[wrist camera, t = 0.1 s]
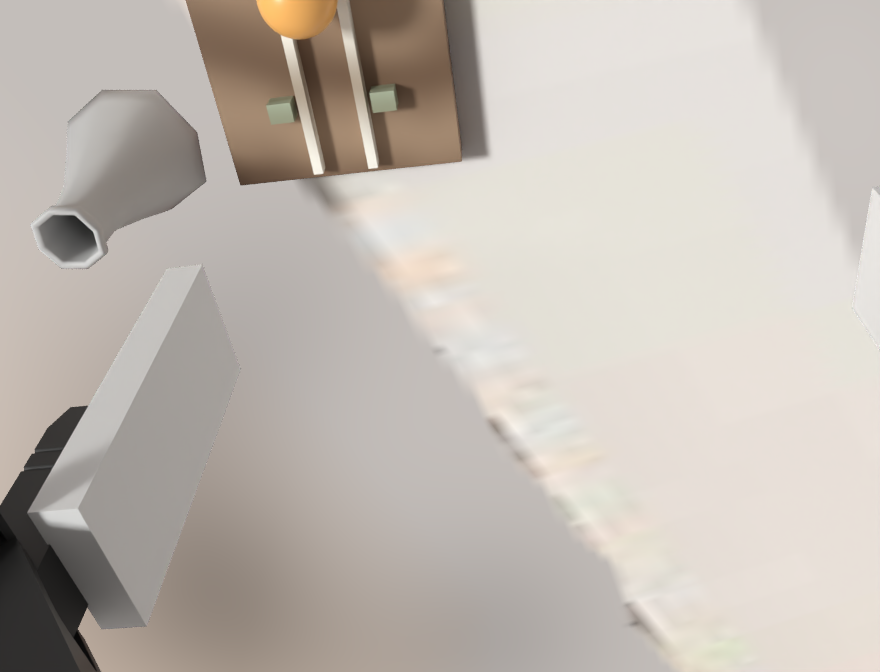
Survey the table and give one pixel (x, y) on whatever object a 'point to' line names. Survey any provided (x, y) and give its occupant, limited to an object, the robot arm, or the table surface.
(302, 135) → the board
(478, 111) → the table surface
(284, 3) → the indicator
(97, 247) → the flask
